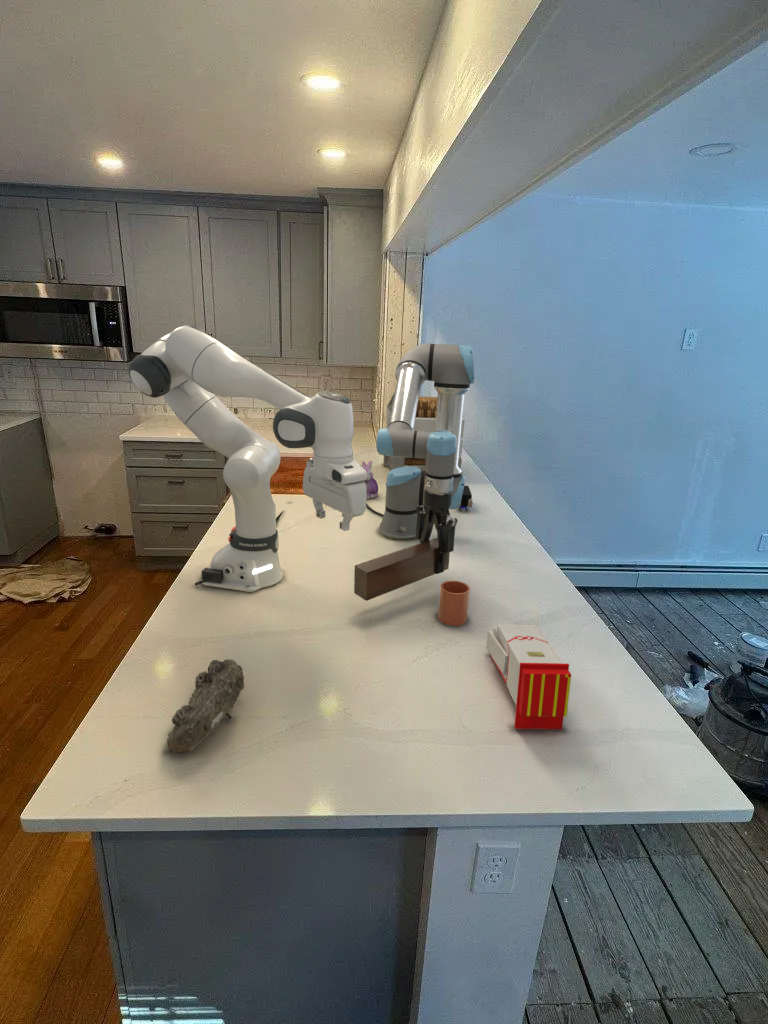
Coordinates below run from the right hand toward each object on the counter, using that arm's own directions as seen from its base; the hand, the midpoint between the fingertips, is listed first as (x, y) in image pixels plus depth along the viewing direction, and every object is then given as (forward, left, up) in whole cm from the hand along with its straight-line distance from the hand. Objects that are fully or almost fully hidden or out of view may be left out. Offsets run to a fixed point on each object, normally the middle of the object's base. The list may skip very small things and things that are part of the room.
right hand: (432, 568), depth 160 cm
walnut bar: (0, -11, -1) cm, 11 cm away
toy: (+43, -16, -6) cm, 47 cm away
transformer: (-89, +81, -6) cm, 120 cm away
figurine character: (-43, +61, -6) cm, 74 cm away
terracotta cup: (+15, -7, -6) cm, 18 cm away
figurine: (-75, +38, -6) cm, 84 cm away
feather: (-76, -3, -6) cm, 76 cm away
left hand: (-1, -34, +21) cm, 40 cm away
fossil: (+13, -72, -6) cm, 73 cm away
